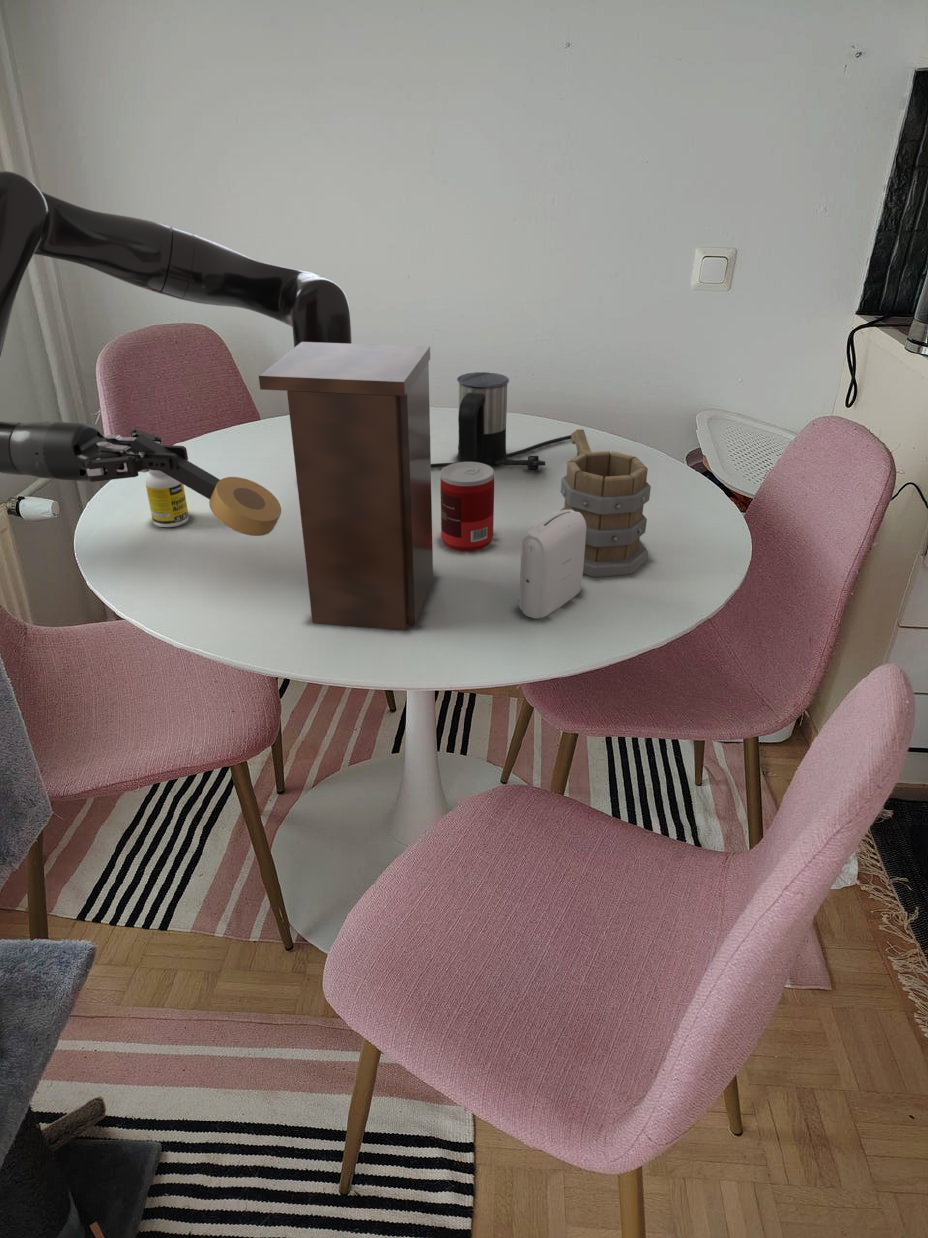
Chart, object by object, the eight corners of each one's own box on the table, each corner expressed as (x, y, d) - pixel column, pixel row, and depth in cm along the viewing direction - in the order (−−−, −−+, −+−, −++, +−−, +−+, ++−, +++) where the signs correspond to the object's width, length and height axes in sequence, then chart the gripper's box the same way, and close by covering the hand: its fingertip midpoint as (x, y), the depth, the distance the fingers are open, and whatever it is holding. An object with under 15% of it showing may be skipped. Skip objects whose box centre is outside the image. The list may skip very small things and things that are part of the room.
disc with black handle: (283, 516, 119) (290, 502, 117) (260, 545, 111) (268, 530, 110) (148, 438, 115) (155, 422, 114) (115, 462, 108) (122, 445, 106)
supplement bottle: (179, 529, 131) (167, 469, 125) (146, 526, 131) (134, 466, 126) (195, 515, 135) (185, 456, 130) (164, 512, 136) (152, 453, 131)
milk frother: (457, 450, 160) (457, 370, 152) (542, 451, 159) (546, 371, 151) (454, 479, 148) (454, 394, 140) (546, 480, 147) (550, 395, 139)
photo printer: (540, 623, 107) (546, 534, 101) (513, 612, 110) (517, 524, 103) (586, 592, 114) (593, 507, 108) (559, 582, 116) (565, 498, 110)
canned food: (499, 533, 130) (501, 464, 124) (483, 556, 123) (484, 484, 117) (452, 526, 132) (451, 458, 126) (433, 548, 125) (432, 477, 119)
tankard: (656, 573, 119) (669, 471, 111) (568, 580, 117) (575, 477, 109) (611, 513, 136) (620, 421, 128) (534, 519, 134) (538, 426, 126)
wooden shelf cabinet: (289, 621, 108) (258, 375, 92) (323, 565, 121) (301, 341, 104) (413, 631, 106) (404, 381, 90) (434, 573, 119) (430, 346, 102)
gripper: (19, 441, 106) (152, 449, 103) (79, 406, 117) (199, 413, 115) (35, 497, 109) (163, 506, 107) (91, 458, 121) (207, 466, 119)
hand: (181, 458), depth 111 cm, fingers closed on disc with black handle, 2 cm apart
